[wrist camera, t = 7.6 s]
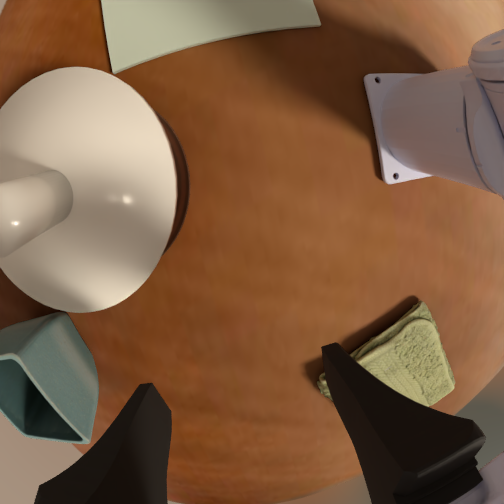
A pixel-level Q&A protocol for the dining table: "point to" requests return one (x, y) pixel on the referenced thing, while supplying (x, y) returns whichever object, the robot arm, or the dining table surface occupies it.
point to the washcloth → (407, 358)
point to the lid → (83, 189)
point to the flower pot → (48, 380)
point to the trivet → (192, 24)
